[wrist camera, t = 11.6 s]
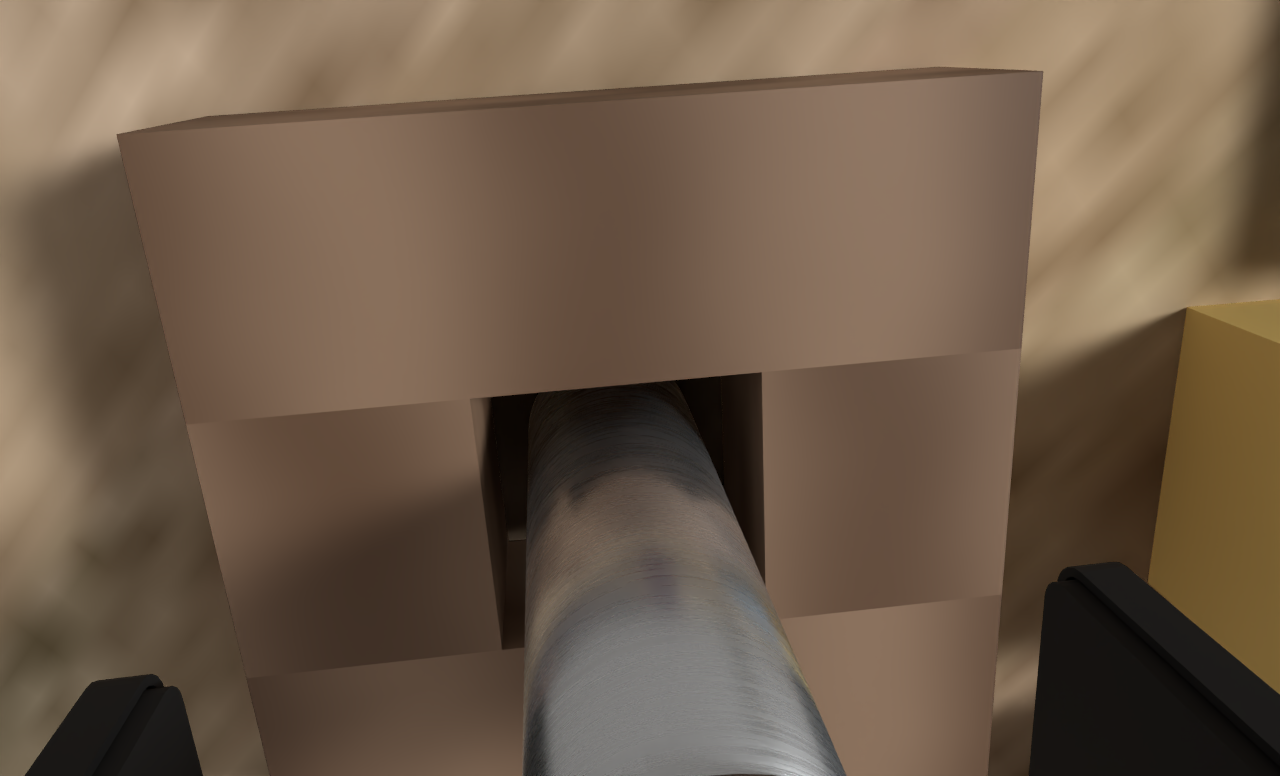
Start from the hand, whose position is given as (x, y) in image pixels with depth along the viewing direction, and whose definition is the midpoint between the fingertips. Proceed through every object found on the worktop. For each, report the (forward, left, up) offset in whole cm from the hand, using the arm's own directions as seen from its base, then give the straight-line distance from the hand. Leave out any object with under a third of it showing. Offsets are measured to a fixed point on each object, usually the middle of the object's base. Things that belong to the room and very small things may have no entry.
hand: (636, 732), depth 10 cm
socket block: (0, 0, -8) cm, 8 cm away
